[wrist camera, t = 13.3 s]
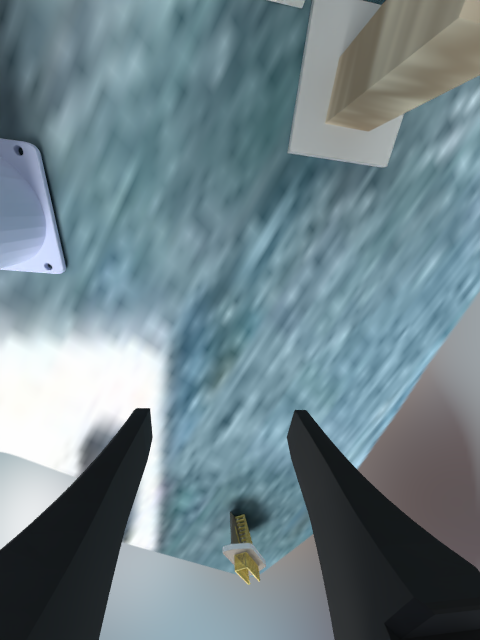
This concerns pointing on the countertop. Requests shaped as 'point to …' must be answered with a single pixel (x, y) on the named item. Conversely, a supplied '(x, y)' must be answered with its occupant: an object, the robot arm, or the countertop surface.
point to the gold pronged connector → (243, 550)
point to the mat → (317, 83)
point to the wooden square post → (405, 60)
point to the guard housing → (291, 2)
